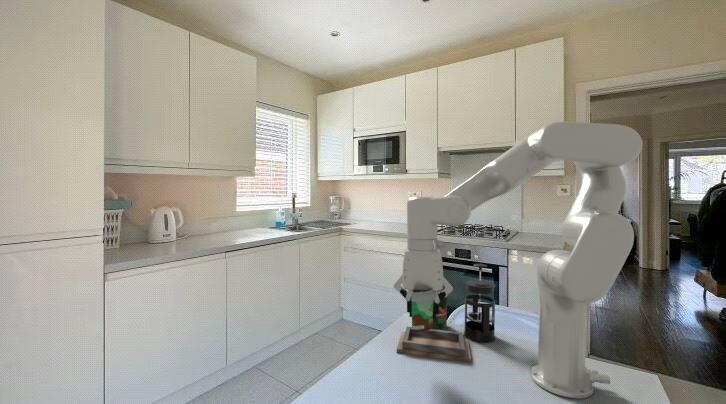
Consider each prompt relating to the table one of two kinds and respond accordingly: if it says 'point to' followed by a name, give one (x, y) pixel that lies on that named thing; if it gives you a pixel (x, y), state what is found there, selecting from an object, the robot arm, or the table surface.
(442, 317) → the canned tomato
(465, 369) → the table surface
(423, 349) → the wooden tray
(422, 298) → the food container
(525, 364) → the table surface
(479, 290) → the french press
